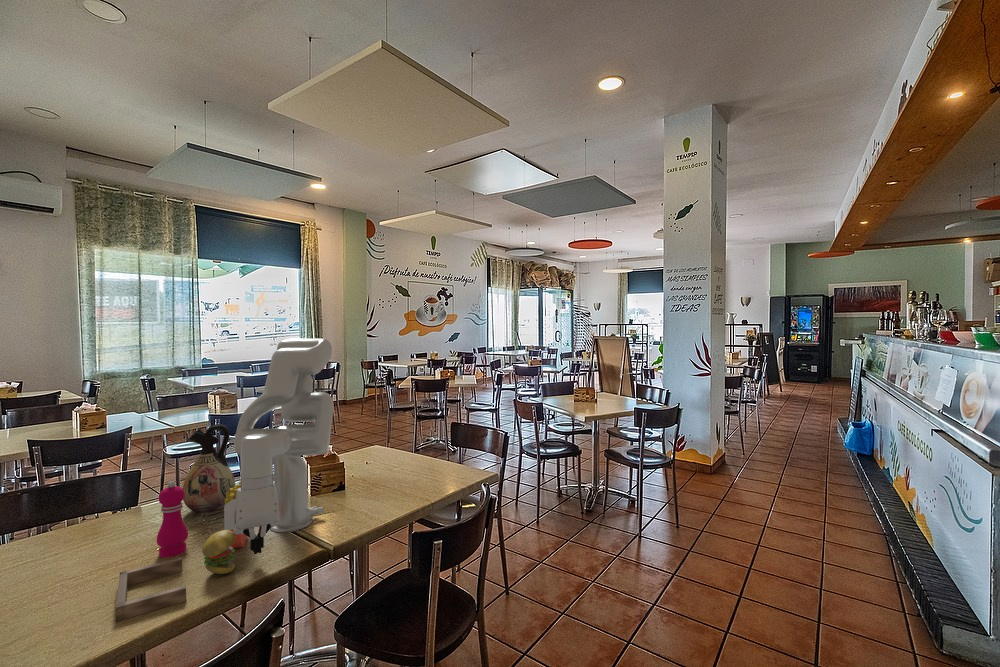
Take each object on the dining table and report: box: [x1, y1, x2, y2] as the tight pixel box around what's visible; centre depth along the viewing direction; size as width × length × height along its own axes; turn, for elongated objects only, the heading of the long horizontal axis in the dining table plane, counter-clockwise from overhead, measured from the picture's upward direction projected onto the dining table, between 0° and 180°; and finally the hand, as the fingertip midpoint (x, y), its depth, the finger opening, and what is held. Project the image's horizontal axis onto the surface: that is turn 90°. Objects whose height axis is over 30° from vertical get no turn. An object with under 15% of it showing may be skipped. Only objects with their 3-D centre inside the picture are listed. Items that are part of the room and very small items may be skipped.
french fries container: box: [223, 479, 248, 549], centre depth 136 cm, size 5×11×18 cm, turn 19°
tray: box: [115, 556, 187, 622], centre depth 112 cm, size 12×18×3 cm
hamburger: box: [201, 529, 236, 575], centre depth 120 cm, size 8×7×12 cm
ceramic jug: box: [182, 423, 237, 516], centre depth 160 cm, size 17×15×30 cm
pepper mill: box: [156, 480, 189, 559], centre depth 131 cm, size 7×7×20 cm
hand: (257, 551), depth 124 cm, fingers closed
